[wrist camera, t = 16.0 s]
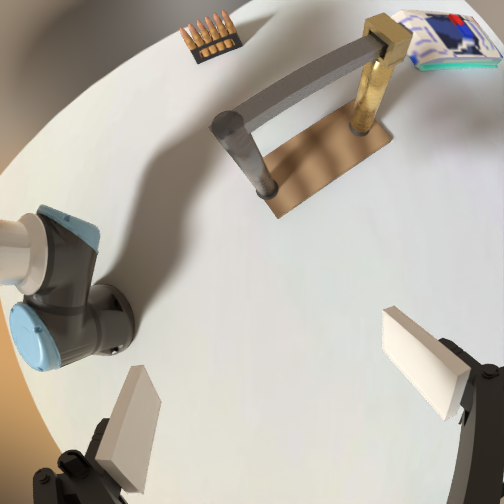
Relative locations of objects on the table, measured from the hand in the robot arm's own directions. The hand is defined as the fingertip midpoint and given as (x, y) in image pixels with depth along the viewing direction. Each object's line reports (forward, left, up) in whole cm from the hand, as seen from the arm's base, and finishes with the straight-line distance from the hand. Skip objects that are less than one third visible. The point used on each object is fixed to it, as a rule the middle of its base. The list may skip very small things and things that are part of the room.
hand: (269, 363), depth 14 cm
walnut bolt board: (+2, +24, -35) cm, 42 cm away
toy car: (+33, +60, -35) cm, 77 cm away
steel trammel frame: (+2, +24, -33) cm, 41 cm away
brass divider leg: (+9, +30, -32) cm, 45 cm away
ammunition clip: (-20, +49, -35) cm, 63 cm away
